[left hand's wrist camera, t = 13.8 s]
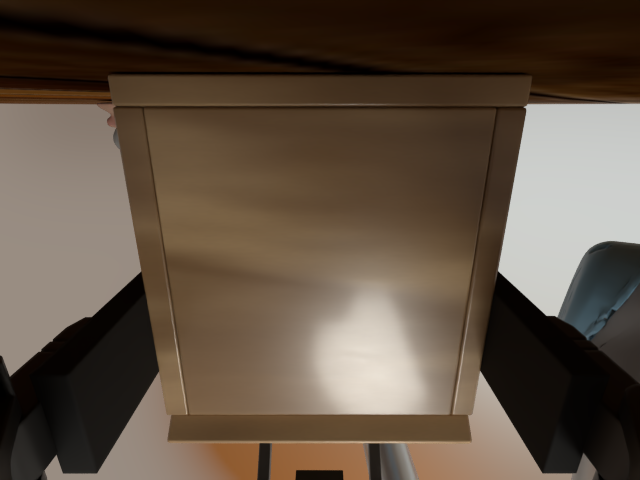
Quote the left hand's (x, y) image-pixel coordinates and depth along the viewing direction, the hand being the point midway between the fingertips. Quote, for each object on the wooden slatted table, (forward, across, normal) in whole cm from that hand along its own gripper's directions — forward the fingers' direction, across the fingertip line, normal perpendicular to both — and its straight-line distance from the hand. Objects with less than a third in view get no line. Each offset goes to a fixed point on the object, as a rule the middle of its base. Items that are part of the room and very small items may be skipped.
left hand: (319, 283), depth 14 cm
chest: (+5, 0, -7) cm, 8 cm away
